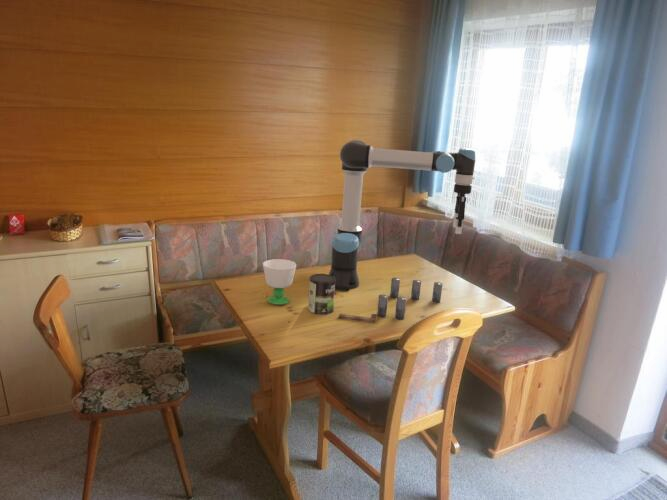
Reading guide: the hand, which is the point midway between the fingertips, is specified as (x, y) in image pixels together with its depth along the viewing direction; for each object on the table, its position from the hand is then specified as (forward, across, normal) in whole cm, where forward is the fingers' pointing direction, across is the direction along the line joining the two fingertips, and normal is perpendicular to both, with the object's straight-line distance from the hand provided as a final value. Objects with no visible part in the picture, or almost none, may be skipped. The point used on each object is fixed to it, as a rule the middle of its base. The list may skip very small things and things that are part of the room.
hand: (456, 230), depth 222 cm
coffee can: (+28, -46, +53) cm, 76 cm away
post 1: (+28, -45, +29) cm, 61 cm away
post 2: (+28, -22, +25) cm, 44 cm away
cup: (+28, -40, +72) cm, 87 cm away
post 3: (+28, -45, +22) cm, 58 cm away
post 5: (+28, -22, +7) cm, 36 cm away
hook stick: (+28, -52, +38) cm, 70 cm away
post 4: (+28, -22, +16) cm, 39 cm away
